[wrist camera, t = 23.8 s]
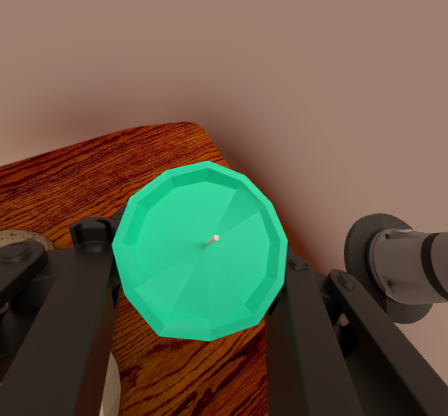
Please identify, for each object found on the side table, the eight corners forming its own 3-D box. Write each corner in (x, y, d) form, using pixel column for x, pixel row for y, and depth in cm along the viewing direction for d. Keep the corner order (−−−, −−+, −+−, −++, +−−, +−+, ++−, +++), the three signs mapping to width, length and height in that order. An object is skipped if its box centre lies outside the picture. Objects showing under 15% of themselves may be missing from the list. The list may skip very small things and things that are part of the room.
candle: (161, 219, 16) (102, 126, 5) (226, 219, 17) (301, 145, 6) (158, 291, 15) (56, 409, 3) (229, 285, 16) (339, 357, 4)
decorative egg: (12, 296, 23) (-106, 323, 14) (6, 243, 25) (-105, 236, 15) (75, 275, 25) (8, 287, 16) (66, 228, 27) (0, 212, 17)
